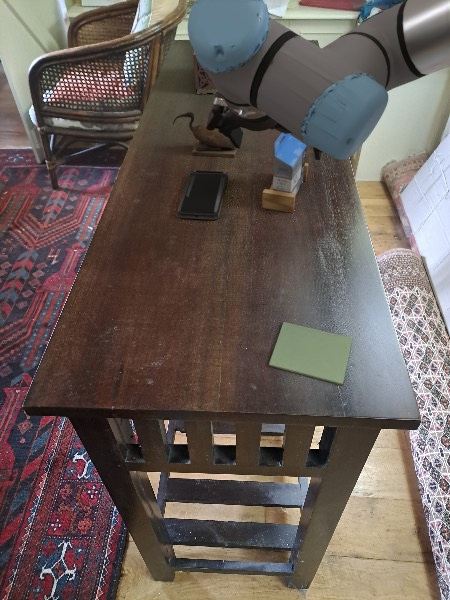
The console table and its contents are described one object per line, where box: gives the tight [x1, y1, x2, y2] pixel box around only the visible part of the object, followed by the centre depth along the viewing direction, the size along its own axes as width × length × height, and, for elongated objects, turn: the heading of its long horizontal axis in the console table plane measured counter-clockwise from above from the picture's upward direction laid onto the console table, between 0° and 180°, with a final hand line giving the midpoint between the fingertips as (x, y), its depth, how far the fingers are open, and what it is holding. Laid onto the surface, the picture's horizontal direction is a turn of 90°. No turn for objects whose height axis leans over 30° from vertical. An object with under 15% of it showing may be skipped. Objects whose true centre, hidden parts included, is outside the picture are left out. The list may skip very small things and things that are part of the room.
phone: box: [177, 169, 229, 221], centre depth 90 cm, size 8×1×15 cm
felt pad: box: [268, 321, 353, 386], centre depth 64 cm, size 10×8×1 cm
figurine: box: [172, 111, 239, 158], centre depth 100 cm, size 14×4×9 cm, turn 80°
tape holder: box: [261, 162, 309, 214], centre depth 89 cm, size 6×12×4 cm, turn 161°
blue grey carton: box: [272, 132, 308, 195], centre depth 86 cm, size 9×4×12 cm, turn 157°
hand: (278, 146), depth 76 cm, fingers open, 13 cm apart
